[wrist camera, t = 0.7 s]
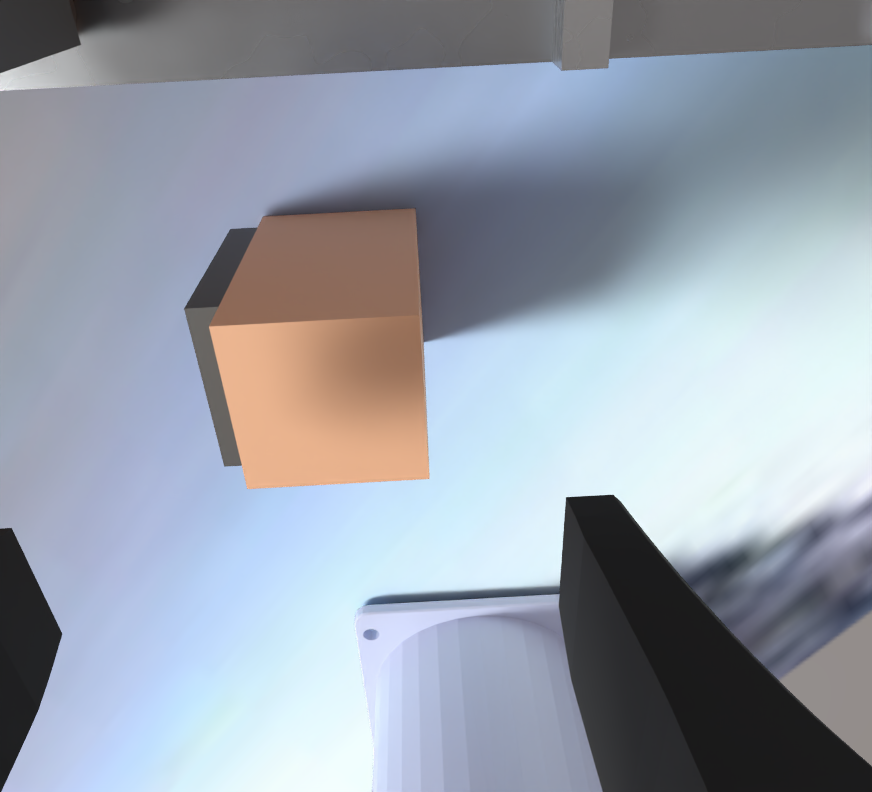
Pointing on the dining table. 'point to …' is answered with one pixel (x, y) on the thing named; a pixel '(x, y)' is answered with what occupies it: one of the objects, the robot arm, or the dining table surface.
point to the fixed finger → (34, 31)
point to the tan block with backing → (316, 349)
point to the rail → (417, 35)
